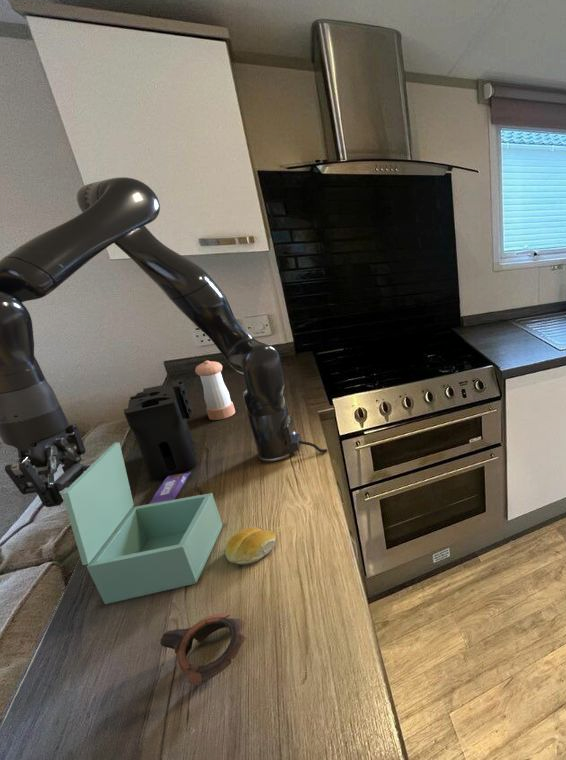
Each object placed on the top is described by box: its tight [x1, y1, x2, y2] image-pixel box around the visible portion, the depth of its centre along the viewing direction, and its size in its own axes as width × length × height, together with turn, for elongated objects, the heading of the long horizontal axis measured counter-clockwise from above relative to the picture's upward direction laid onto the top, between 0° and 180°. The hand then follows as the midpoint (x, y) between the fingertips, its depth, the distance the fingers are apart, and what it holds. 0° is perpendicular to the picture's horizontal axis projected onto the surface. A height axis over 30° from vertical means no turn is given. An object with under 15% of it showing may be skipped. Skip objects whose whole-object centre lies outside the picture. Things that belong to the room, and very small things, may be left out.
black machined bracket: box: [123, 379, 197, 480], centre depth 117 cm, size 12×21×22 cm, turn 39°
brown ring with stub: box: [159, 612, 247, 686], centre depth 69 cm, size 12×10×8 cm
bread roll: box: [224, 526, 277, 565], centre depth 90 cm, size 8×9×4 cm
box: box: [86, 492, 224, 605], centre depth 86 cm, size 14×16×9 cm
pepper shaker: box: [194, 360, 236, 421], centre depth 141 cm, size 7×7×19 cm
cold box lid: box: [54, 441, 135, 566], centre depth 79 cm, size 15×16×5 cm
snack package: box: [148, 471, 192, 504], centre depth 108 cm, size 12×2×5 cm
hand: (67, 492), depth 78 cm, fingers closed on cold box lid, 6 cm apart
